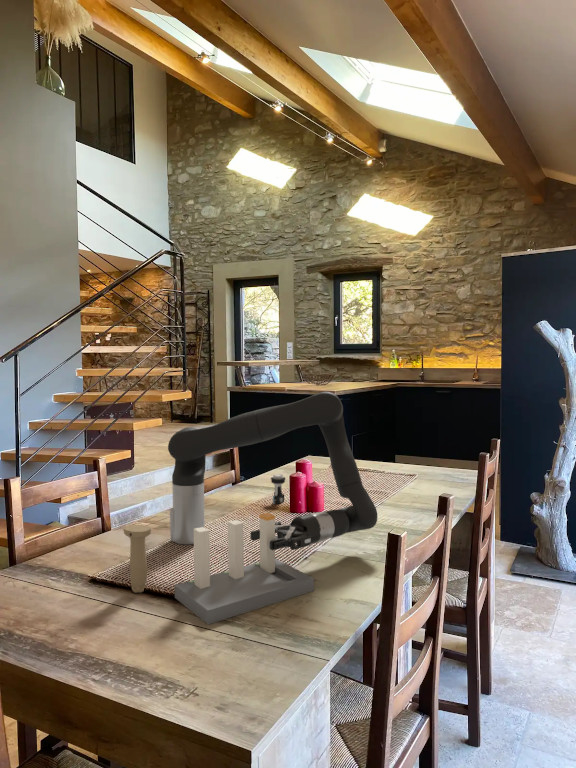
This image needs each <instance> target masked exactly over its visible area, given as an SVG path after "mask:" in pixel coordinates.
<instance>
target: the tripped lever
mask: <svg viewBox="0 0 576 768" xmlns="http://www.w3.org/2000/svg"><path fill="white" fill-rule="evenodd" d="M275 521H276V515H274V514H272V513H270V512H265V513H261V514H259V530H260V539H259V562H260V568H262V569H263V570H265V571H267V572H269V573H273V572H275V558H276V550H271V549H270V541H271V540H275V536H276V533H275Z"/></svg>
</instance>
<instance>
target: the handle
mask: <svg viewBox="0 0 576 768" xmlns="http://www.w3.org/2000/svg"><path fill="white" fill-rule="evenodd" d="M151 533H152V527H151V526H149V525H143V524H131V525H127V526H125V527H123V534H124V535H125V536H127V537H128V538H129V541H130V551H129V553H130V554H129V576H130V577H129V578H130V584H131V585H130V586H131V591H133V593H143V592H144V588H146V589H147V584H146V583H147V579H148V563H147V562H148V561H147V552H146V551H147V549H146V538H147V537H148V536H150V535H151Z"/></svg>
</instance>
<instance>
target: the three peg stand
mask: <svg viewBox="0 0 576 768" xmlns="http://www.w3.org/2000/svg"><path fill="white" fill-rule="evenodd" d="M227 534H228V535H227V540H228V541H227V544H228V545H227V549H228V551H227V552H228V553H227V554H228V555H227V556H228V557H227V558H228V570H225V571H222V572H217V573H215V574H211V567H210V566H211V562H210V561H211V559H210V557H211V553H210V552H211V548H210V546H211V545H210V543H211V542H210V529H208V528H204V527H200V528H195V529H194V544H193V566H194V569H193V572H194V578H193V579H192V580H188V581H184V582H180V583H175V584H174V599H176V600H177V601H178V602H180V603H181V604H182V605H183V606H185V608H187V609H188V610H190V611H191V612H192V613H193V614H194V615H196V616H197V617H198V618H199V619H200V620H201V621H202V622H204V623H206V625H212V624H214V623H217V622H221V621H224V620H226V619H231V618H234V617H235V616H240V615H242V614H245V613H248V612H251V611H255V610H257V609H261V608H263V607H268V606H270V605H273V604H276V603H280V602H282V601H286V600H290V599H292V598H295V597H298V596H301V595H305V594H308V593H311V592H313V591H314V590H315V578H314V577H312V576H310V575H309V574H307V573H305V572H303V571H301V570H299V569H297V568H295V567H293V566H291V565H289V564H287V563H286V562H283V561H281V560H280V559H277V558H276V557H275V572H273V573H269V572H267V571H265V570H263V569H262V568H260V561H258V562H256V563H252V564H247V565H244V564H245V563H244V561H245V557H244V556H245V555H244V551H245V550H244V544H245V543H244V542H245V541H244V522H242V521H240V520H238V519H235V520H229V521H228V522H227Z"/></svg>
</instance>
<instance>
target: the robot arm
mask: <svg viewBox="0 0 576 768" xmlns="http://www.w3.org/2000/svg"><path fill="white" fill-rule="evenodd" d="M343 413H344V406H343V403H342V401H341V399H340V398H339V397H338V395H336V394H335V393H333V392H329V391H322V392H318V393H316V394H313V395H310V396H309V397H306V398H303V399H301V400H297V401H294V402H291V403H287V404H280V405H274V406H269V407H264V408H260V409H256V410H253V411H249V412H245V413H240V414H238V415H236V416H232V417H230V418H228V419H226V420H224V421H221V422H219V423H216V424H214V425H211V426H207V427H206V426H205V427H202V428H196V427H191V426H189V427H184V428H181V429H180V430H179V431H178V430H177V432H175V433H174V434H173V435H172V436H171V437H170V439H169V441H168V445H167V449H168V450H167V451H168V452H169V454H170V457H172V458H173V459H174V468H173V472H172V475H171V476H172V477H171V480H172V481H171V484H172V486H171V487H172V491H171V492H172V508H170V510H169V513H170V514H169V526H170V527H169V529H170V533H169V535H170V542H172V543H175V544H178V545H194V529H195V528H200V527H204V528H205V525H206V524H205V472H206V464H207V463H206V460H207V457H206V455H210V454H212V453H215V452H218V451H224V450H230V449H236V448H241V447H245V446H250V445H254V444H258V443H262V442H267V441H269V440H272V439H275V438H278V437H280V436H283V435H284V434H286V433H288V432H289V433H290V432H291V431H294V430H297V429H299V428H303V427H310V426H315V425H318V426H319V428H320V431H321V433H322V435H323V438H324V440H325V444H326V447H327V450H328V455H329V460H330V461H329V462H330V466H331V471H332V473H333V477H334V481H335V484H336V487H337V490H338V491H337V492H338V494H339V495H340V497H341V498H344V499H348V500H349V501H350V503H351V505H349V506H345V507H342V508H339V509H330V510H326V511H319V512H313V513H309V514H302V515H299V516H295V517H294V518H293V519H292V521H291V522H290V524H288V523H287V524H286V523H285V524H282V522H281V521H276V522H275V534H276V535H275V540H271V541H270V549H271V550H275V551H276V550H279V549H282V548H283V549H290V550H292V551H295V550H298V549H301V548H305V547H309V546H311V545H313V544H314V545H315V544H317V543H321V542H324V541H325V542H326V541H328V540H329V539H332V538H336V537H340V536H342V535H345V534H348V533H353V532H358V531H365V530H370V529H372V528H374V527H375V526H376V525H377V522H378V510H377V508H376V505H375V503H374V502H373V500H372V499H371V496H370V495H369V493H368V492H367V490H366V489H365V487H364V484H363V482H362V478H361V476H360V472H359V468H358V465H357V462H356V459H355V457H354V454H353V450H352V449H351V446H350V443H349V441H348V436H347V433H346V428H345V427H346V426H345V420H344V414H343ZM250 540H251V541H254V542H255V541H257V540H258V541H259V540H260V529H256V530H252V531H250Z"/></svg>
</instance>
